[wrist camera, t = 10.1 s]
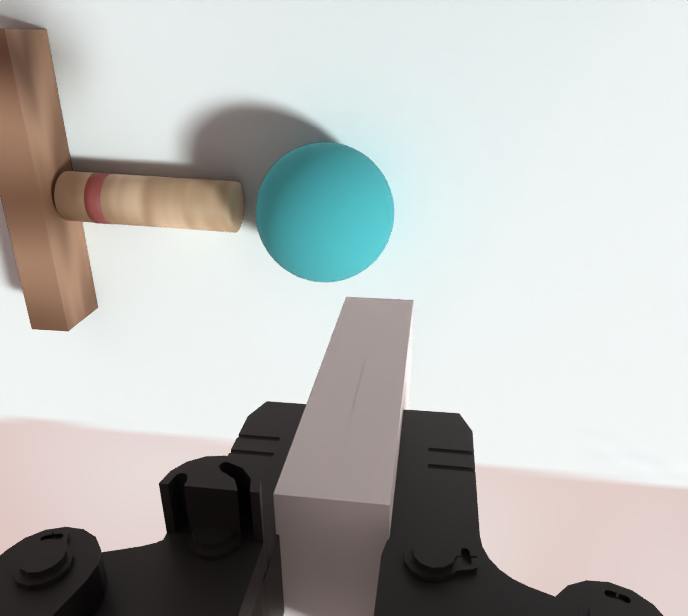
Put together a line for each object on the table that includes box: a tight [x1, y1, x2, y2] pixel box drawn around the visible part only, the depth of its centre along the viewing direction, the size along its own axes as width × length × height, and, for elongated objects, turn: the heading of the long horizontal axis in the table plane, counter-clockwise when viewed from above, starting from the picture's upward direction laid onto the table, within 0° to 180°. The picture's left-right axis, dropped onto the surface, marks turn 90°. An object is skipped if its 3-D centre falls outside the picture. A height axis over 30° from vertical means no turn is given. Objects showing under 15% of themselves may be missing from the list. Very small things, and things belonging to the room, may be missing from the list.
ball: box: [256, 142, 394, 282], centre depth 27 cm, size 6×6×6 cm
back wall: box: [0, 29, 98, 331], centre depth 30 cm, size 14×2×3 cm, turn 1°
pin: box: [54, 171, 244, 232], centre depth 30 cm, size 2×2×8 cm
